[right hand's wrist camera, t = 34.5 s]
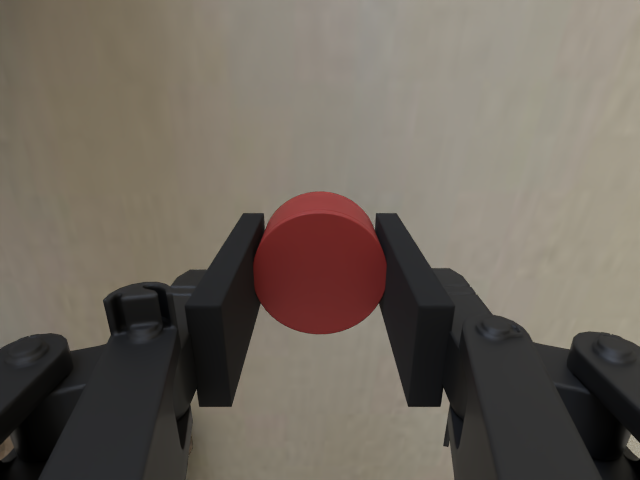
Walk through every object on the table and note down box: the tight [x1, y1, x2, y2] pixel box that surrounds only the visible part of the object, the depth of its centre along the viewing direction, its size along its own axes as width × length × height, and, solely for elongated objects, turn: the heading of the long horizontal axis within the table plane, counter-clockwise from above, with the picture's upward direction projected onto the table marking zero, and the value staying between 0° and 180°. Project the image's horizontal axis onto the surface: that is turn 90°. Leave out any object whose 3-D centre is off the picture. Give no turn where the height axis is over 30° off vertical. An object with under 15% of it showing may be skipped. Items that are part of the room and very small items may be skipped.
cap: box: [253, 192, 387, 334], centre depth 13 cm, size 4×4×3 cm
